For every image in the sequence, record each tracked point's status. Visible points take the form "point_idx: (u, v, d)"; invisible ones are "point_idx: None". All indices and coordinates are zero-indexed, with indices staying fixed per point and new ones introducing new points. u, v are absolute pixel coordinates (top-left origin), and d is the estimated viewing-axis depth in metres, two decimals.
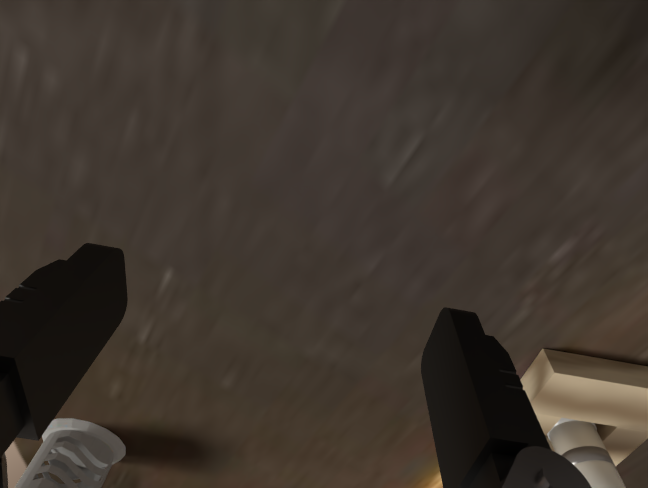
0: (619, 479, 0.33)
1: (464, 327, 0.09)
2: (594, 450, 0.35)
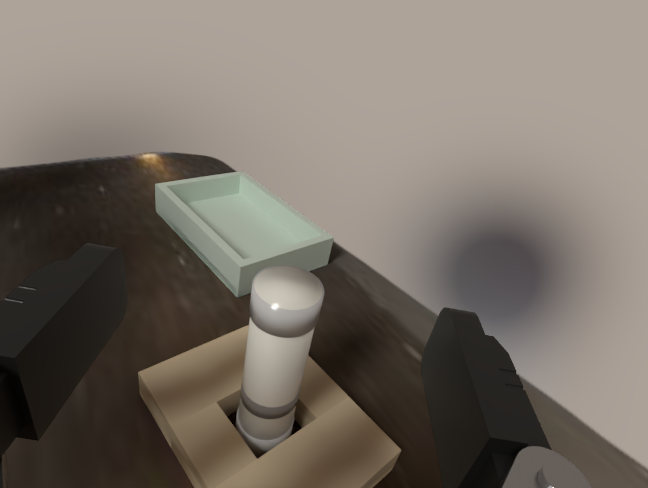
0: None
1: (464, 327, 0.09)
2: None
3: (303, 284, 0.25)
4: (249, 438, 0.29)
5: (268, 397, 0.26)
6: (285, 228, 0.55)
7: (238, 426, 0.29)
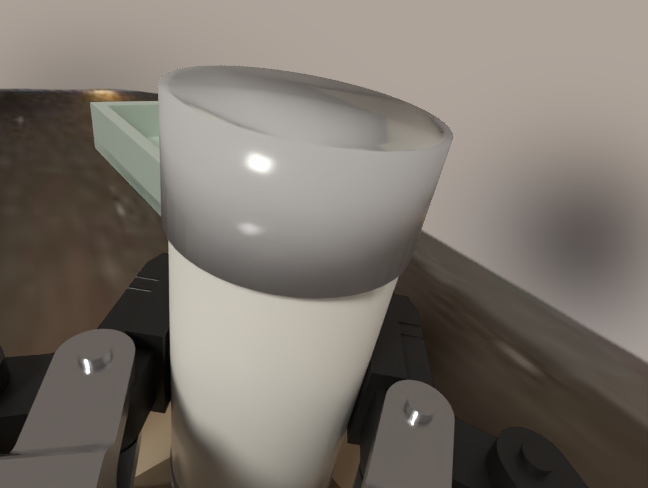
0: None
1: None
2: None
3: (365, 105, 0.07)
4: None
5: None
6: None
7: None
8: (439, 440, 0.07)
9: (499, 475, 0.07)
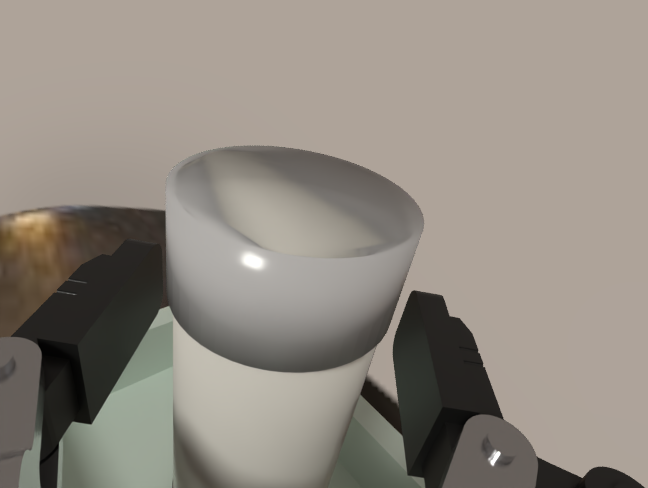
0: None
1: (429, 308, 0.10)
2: None
3: (348, 189, 0.07)
4: None
5: None
6: None
7: None
8: (526, 484, 0.06)
9: None
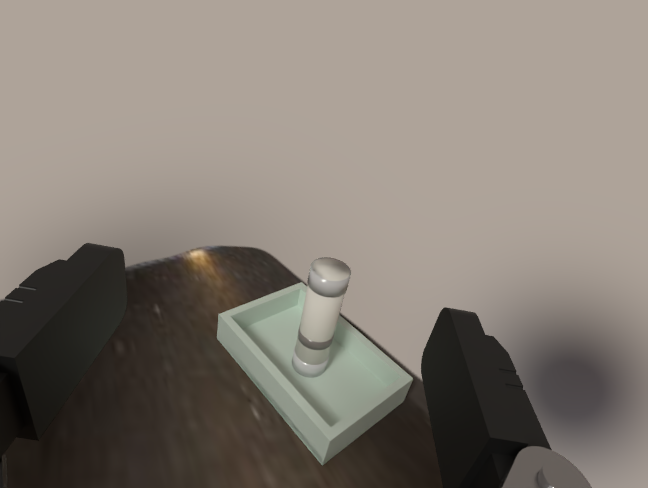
0: None
1: (464, 327, 0.09)
2: None
3: (338, 268, 0.43)
4: (303, 364, 0.47)
5: (317, 335, 0.45)
6: (354, 355, 0.52)
7: (295, 357, 0.48)
8: None
9: None
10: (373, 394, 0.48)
